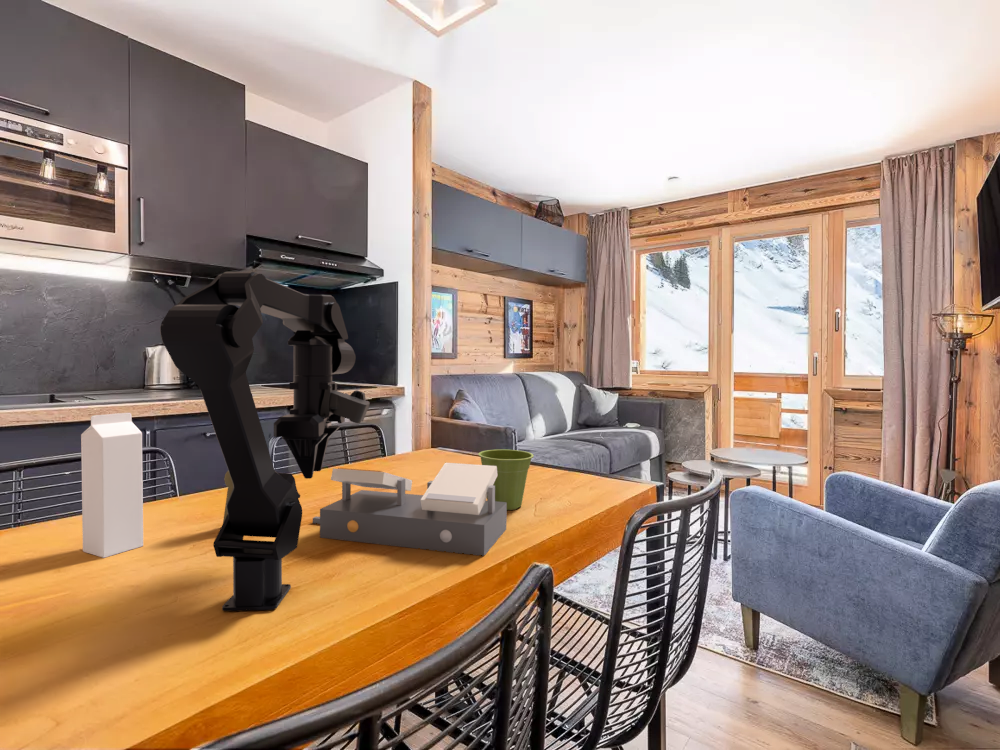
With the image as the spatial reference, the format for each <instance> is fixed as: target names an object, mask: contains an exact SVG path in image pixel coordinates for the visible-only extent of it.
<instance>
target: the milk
mask: <svg viewBox="0 0 1000 750" xmlns="http://www.w3.org/2000/svg"><path fill="white" fill-rule="evenodd" d="M132 418H133V417H132V413H131V412H118V413H110V414H109V413H108V414H97V415H91V417H90V426H89V427H88V428H86V429H85V430H84V431H83V432H82V433H81V434H80V439H81V442H80V443H81V447H80V449H81V506H82V507H81V509H82V510H81V511H82V512H81V514H82V516H81V517H82V518H81V519H82V520H81V521H82V525H81V526H82V552H83V553H87V554H91V555H94V556H97V557H98V558H103V559H105V558H108V557H111V556H115V555H118V554H121V553H124V552H128V551H131V550H134V549H138V548H141V547H143V546H144V502H143V500H144V498H143V497H144V495H143V493H144V491H143V489H144V486H143V482H144V481H143V480H144V477H143V432H142V431H141V430H140V428H138V427H137V425H135V424H134V422H133V419H132Z"/></svg>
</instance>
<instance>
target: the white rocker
mask: <svg viewBox="0 0 1000 750" xmlns="http://www.w3.org/2000/svg"><path fill="white" fill-rule="evenodd" d="M497 476H498V474H497V466H489V465H482V464H475V463H474V464H473V463H456V462H445V463H444V464H443V466H441V468H440V470H439V471H438V472H437V474H436V476H435V477H434V479H433V480H432V481H433V482H432V483H431V485H430V486H429V488H428V489H427V488H426V491H425V493H423V494H422V495H423V497H422V498H421V506H422V510H431V511H441V512H452V513H463V514H474V515H479V513H480V511H481V509H482V507H483V505H484V503H485V501H487V497H488V487H489V486H490V485H493V484H494V482H495V480H496V478H497Z"/></svg>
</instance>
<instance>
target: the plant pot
mask: <svg viewBox="0 0 1000 750" xmlns="http://www.w3.org/2000/svg"><path fill="white" fill-rule="evenodd" d="M478 457H479V458H480V461H481V465H489V466H497V474H498V476H497V478H496V480H495V482H494V484H493V485H494V486H495V501H497V502H507V511H513V510H518V508H520V507H522V504H523V498H524V493H525V488H526V482H527V479H528V478H527V477H528V471H529V469H530V465H531V462H532V459H533V458H534V454H533V453H532V452H529V451H525V450H517V449H487V450H482V451H480V452H478ZM486 501H488V497H487V499H486Z"/></svg>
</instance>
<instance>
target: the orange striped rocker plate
mask: <svg viewBox="0 0 1000 750" xmlns="http://www.w3.org/2000/svg"><path fill="white" fill-rule="evenodd" d="M401 478H402V479H405V492H407V491H408V492H411V491H412V484H413V480H412V479H410V478H407V477H404V476H403V477H402V476H399V475H395V474H392V473H390V472H389V473H388V472H385V471H384V470H383V471H382V470H371V469H357V468H346V467H345V468H344V467H338V468H332V470H331V476H330V480H331V481H334V482H339V483H342V482H343V483H348V484H351V486H352V485H353V486H358V487H362V488H374V489H383V490H384V489H385V490H397V480H399V479H401Z"/></svg>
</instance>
